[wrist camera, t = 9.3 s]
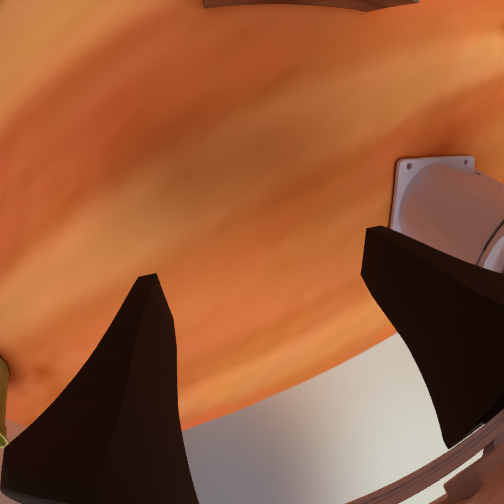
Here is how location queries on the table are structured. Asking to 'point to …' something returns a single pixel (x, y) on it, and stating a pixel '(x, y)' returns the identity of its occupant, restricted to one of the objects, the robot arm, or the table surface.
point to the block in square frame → (318, 3)
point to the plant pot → (3, 401)
